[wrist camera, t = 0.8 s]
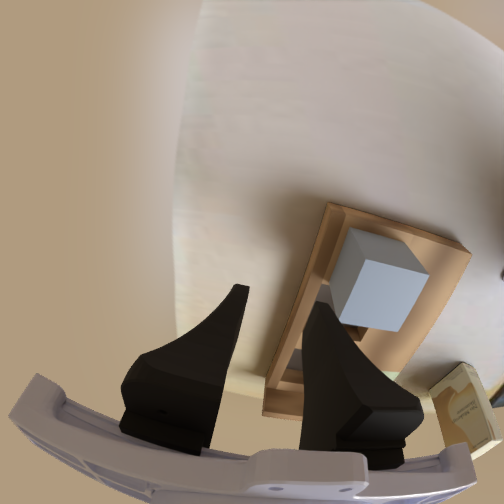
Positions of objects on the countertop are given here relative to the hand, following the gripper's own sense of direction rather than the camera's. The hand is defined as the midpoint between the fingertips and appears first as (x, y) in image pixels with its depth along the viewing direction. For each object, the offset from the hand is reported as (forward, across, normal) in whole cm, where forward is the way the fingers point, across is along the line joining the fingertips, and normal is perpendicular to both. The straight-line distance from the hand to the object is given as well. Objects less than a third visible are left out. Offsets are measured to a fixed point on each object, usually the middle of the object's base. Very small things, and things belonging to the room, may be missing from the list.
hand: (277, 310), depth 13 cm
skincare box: (+10, -28, +14) cm, 33 cm away
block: (+7, -6, 0) cm, 10 cm away
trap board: (+9, -9, +7) cm, 15 cm away
